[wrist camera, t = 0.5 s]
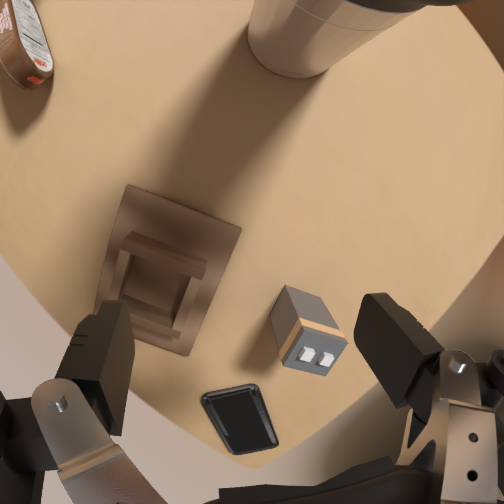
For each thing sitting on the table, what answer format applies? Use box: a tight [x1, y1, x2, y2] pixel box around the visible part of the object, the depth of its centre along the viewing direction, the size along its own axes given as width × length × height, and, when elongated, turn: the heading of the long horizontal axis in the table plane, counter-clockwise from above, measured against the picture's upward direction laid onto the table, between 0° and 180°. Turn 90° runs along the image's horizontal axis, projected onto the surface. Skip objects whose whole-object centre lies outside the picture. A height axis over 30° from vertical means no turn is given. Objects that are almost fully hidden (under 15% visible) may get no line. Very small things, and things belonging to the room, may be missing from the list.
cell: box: [270, 285, 348, 376], centre depth 30 cm, size 4×5×10 cm
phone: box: [202, 384, 279, 455], centre depth 40 cm, size 8×1×15 cm
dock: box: [93, 185, 242, 356], centre depth 30 cm, size 16×12×4 cm
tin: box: [0, 0, 54, 91], centre depth 18 cm, size 15×3×8 cm, turn 25°
